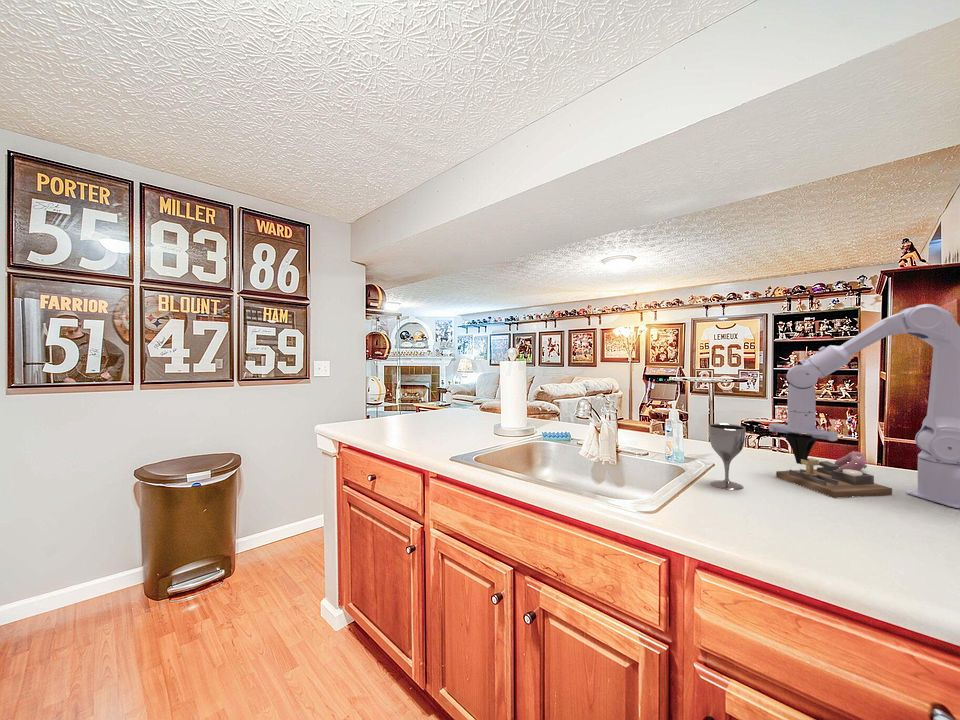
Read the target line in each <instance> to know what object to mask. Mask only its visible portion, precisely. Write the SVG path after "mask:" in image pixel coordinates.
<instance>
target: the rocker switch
mask: <svg viewBox="0 0 960 720" xmlns="http://www.w3.org/2000/svg"><path fill="white" fill-rule="evenodd" d="M818 466H819V467H824V468H827V469H829V470H839V466H838V465H835V463H832V462H831V461H828V460H825V461H820V460H819V465H818Z"/></svg>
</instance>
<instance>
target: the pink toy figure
mask: <svg viewBox="0 0 960 720" xmlns="http://www.w3.org/2000/svg"><path fill="white" fill-rule="evenodd" d="M847 462H849V463H847ZM855 463H857V464H855ZM834 464H835V465H838V466H839V467H840V468H839V470H844V469H852V470H857V471H860V472H861V470H864V469H866V468H867V467H868V465H867V459H866V457H865V454H864V453H862V452H860V451H854V450H852V451H851V452H848V453H847V454H846V455H845V456H842V457H840V458H837V459H836V460H835V461H834Z"/></svg>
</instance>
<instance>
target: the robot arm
mask: <svg viewBox="0 0 960 720" xmlns="http://www.w3.org/2000/svg"><path fill="white" fill-rule="evenodd" d="M901 334H908V335H910V336H914V337H916V338H919V339H920V340H922V341H923V342H925V343H926V344H928V345H929V346H931V347H932V357H931V358H932V360H931V367H930V368H931V371H930V379H929V392H928V400H927V411H926V416H925V417H924V418H923V420H922V425H921V428H920V429H919V431H917V432H916V434H915V438H914V441H915V444H916V446H917V447H918V448H919V449H920V450H921V451H920V452H919V453H918V454H917V490H907V491H906V494H907V495H911V496H914V497H918V498H921V499H924V500H928V501H931V502H934V503H937V504H941V505H945V506H948V507H951V508H955V509H960V325H959V324H958V323H957V322H956V320H955V318H954V315H953V313H951V312H950V311H948V310H946V309H944V308H943V307H940V306H938V305H935V304H932V303H925V304H918V305H916V306H914V307H907V308H904V309H902V310H900V311H899V312H897V313H895V314H892V315H889V316H887V317H885V318H883V319H881V320H879V321H877V322H875V323H874V324H872V325H870V326H869V327H867V328H866V329H864V330H863V331H861V332H860V333H858V334H856V335H855V336H853V337H851V338H849V340H847V341H845V342H843V344H842V343H841V345H832V344H830V345H828V346H821V347H820V348H818V351H817V352H816V353H815V354H813V355H811V356H810V357H808V358H806V359H804V358H802V359H801V360H800V361H799V362H800V363H801V364H797V365H793V366H792V367H791V368H789V369H788V370H787V373H786V375H785V378H786V380H787V382H788V386H787V391H788V392H787V424H778V423H769V424H768V432H773V433H776V432H777V433H780V434H781V433H783V434H787V436H785V440H786V441H787V443H788V444H789V446H790V448H791V450H792V453H793V455H794V458H795V463H796V464H797V465H802V464H801V459H809V458H808V457H809V455H810V452H811V450H812V448H813V447H814V445H815V444H816V443H817V441H818V439H820V440H827V441H830V442H835V441H838V432H836V431H830V430H825V429H821V428H820V429H819V428H817V427H816V425H817V424H816V421H817V420H816V417H817V416H816V415H817V414H816V404H817V401H816V397H817V395H816V392H815V391H816V390H815V385H816V384H817V383H818V379H820V378H821V379H823V378H825V377H827V376H829V375H831V374H832V373H834V372H836V371H839V369H841V368H843V367H845V366H847V365H848V364H849V363H850V360H851V359H850V358H851V356H853V355H854V354H856V353H858V352H860V351H862V350H864V349H866V348H868V347H869V346H871V345H873V344H875V343H877V342H878V341H880V340H882V339H884V338H886V337H889V336H895V335H901Z"/></svg>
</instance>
